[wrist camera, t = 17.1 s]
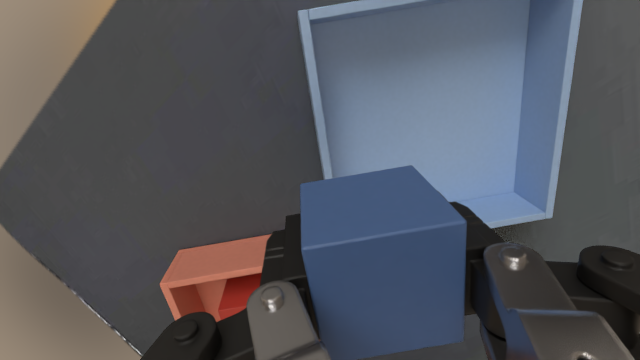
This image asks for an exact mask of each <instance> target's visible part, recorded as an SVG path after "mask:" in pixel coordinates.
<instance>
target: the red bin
mask: <svg viewBox="0 0 640 360" xmlns="http://www.w3.org/2000/svg"><path fill="white" fill-rule="evenodd" d="M271 235H272V234H269V235H264V236H258V237H252V238H246V239H240V240H235V241H229V242H223V243H217V244H211V245H206V246H200V247H194V248H188V249H182V250H179V251H178V253H177V254H176V256H175V258H174V260H173V261H172V263H171V265H170V267H169V268H168V270H167V272H166V274H165V275H164V277H163V279H162V280H161V282H160V286H161V289H162V291H163V293H164V296H165V298H166V300H167V302H168V305H169V307H170V309H171V312H172V314H173V316H174V319H175V321H176V320H177V319H179V318H180V317H183V316H185V315H187V314H190V313H194V312H207V313H210V314H211V315H213V317H214V318H215V320H216V322H218V321H220V320H221V319H220V316H219V313H218V308H219V305H220V301H221V298H222V295H223V291H224V288H225V284H226V281H227V279H230V278H236V277H242V276H247V275H253V274H259V273H262V267H263V261H264V255H265V249H266V242H267V240H268V238H269V237H270V236H271ZM319 341H320V340H319Z"/></svg>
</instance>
